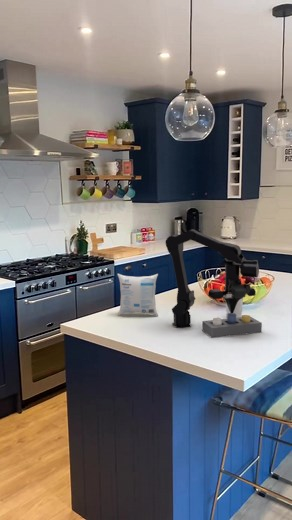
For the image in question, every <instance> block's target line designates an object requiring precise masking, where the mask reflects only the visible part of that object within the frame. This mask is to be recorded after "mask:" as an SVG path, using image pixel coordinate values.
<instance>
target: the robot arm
mask: <svg viewBox="0 0 292 520" xmlns="http://www.w3.org/2000/svg"><path fill="white" fill-rule="evenodd" d="M189 241H193V242H196V243H198V244H200V245H203V246H205V247H206V248H209V249H211V250H213V251H216V252H217V253H218V254H219V255H220V256H222V257H224V259H223V261H221V262H220V265H221V266H224V267H225V269H224V271H225V272H224V273H225V275H224V277H223V280H224V287H223V290H221V289H218V288H214V289H209V291H208V297H209V298H211V299H213V300H220V299H221V300H222V299H224V302H225V304H226V303H227V306H228V308H229V311H230V313H233V312H234V309H235V307H236V304H237V302H238V301H239V300H240V299H242V298H243V299H244V298H245V297H246V295H247V296H248V297H255V296H256V295H257V294H256V289H255V288H253V287H251V285H250V284H249V283H246V284H242V279H241V278H240V275H241V276H243V278H244V277H245V278H256V279H257V278H258V277H259V274H260V267H259V260H257V259H254V260H247V259H246V258H245V256H244V254H243V253H242V249H241V247H240V246H239V245H237V244H235V243H231V242H223V241H220V240H218V239H216V238H214V237H211V236H209V235H207V234H204V233H202V232H200V231H198V230H196V229H189V230H187V231H185V232H183V233H181V234H173V235H171V236H168V237H167V238H166V240H165V246H166V250H167V252H168V254H169V255H170V257H171V259H172V264H173V270H174V275H175V281H176V287H177V293H176V304H175V305H174V307H173V306H172V308H171V311H172V315H173V322H172V323H171V324H172V325H173V326H174V327H175V328H177V329H180V328H187V327H188V328H190V327H191V326H192V325H191V322H192V321H191V320H192V319H191V314H190V311H189V310H190V309H191V307H193V306H194V304H195V301H196V299H197V298H196V297H195V290H191V289H190V287H189V284H188V279H187V277H188V276H187V273H186V267H185V262H184V256H183V253H184V248H185V247H184V243H186V242H189Z"/></svg>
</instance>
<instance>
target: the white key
mask: <svg viewBox="0 0 292 520" xmlns="http://www.w3.org/2000/svg"><path fill="white" fill-rule="evenodd" d="M222 319H223V318H221V317H213V318H212V320H213V325H214V326H217V325H222Z"/></svg>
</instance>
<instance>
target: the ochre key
mask: <svg viewBox="0 0 292 520" xmlns="http://www.w3.org/2000/svg"><path fill="white" fill-rule="evenodd" d="M241 317H242V322H243V323H245V322H250V317H251V315H249V314H243V315H242V316H241Z"/></svg>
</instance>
